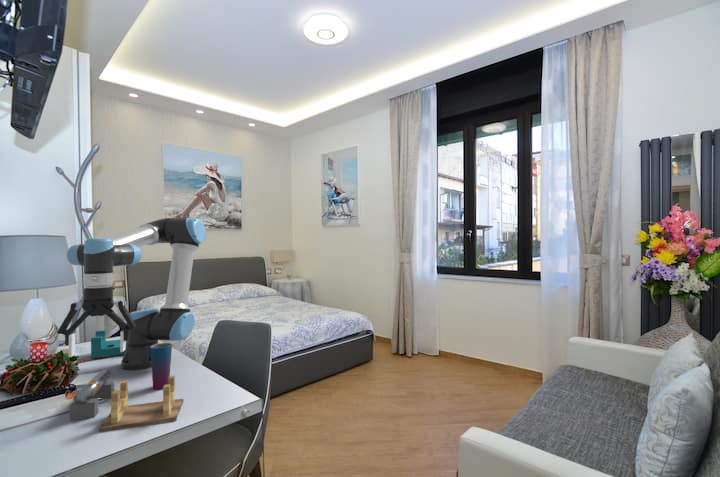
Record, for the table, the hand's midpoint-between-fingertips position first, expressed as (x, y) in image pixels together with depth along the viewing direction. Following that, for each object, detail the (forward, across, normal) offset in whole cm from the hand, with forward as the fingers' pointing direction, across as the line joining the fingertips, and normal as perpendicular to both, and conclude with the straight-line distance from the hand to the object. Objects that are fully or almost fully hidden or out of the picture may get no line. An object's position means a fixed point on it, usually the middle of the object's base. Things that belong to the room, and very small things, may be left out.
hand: (97, 353), depth 111 cm
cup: (+17, +16, +10) cm, 26 cm away
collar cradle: (+17, +16, -12) cm, 26 cm away
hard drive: (+18, -12, +26) cm, 33 cm away
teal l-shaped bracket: (+17, -11, +61) cm, 64 cm away
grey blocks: (+17, -1, 0) cm, 17 cm away
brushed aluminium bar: (+12, -1, 0) cm, 12 cm away
